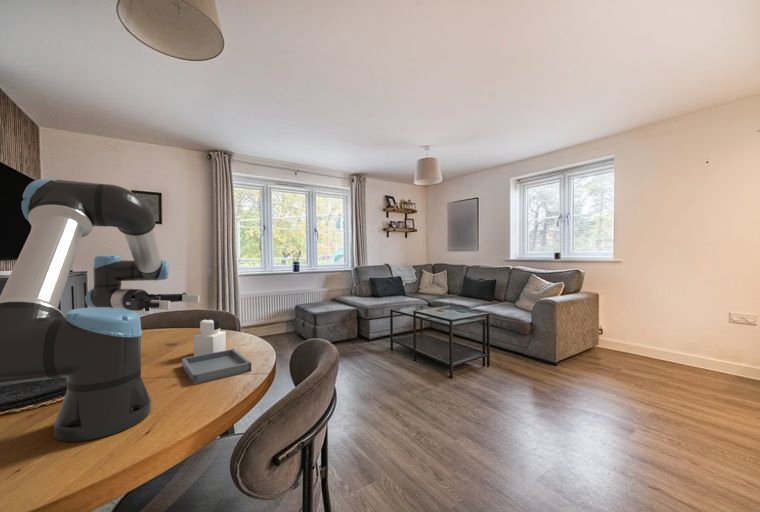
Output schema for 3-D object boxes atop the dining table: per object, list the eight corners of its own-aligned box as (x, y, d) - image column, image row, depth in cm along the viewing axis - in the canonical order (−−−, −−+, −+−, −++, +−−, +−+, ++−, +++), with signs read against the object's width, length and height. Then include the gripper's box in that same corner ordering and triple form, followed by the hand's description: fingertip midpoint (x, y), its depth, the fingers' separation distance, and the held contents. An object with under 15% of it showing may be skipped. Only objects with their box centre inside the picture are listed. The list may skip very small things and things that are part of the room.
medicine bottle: (207, 350, 112) (207, 316, 112) (226, 351, 111) (226, 317, 111) (193, 356, 105) (193, 321, 105) (212, 358, 104) (212, 322, 104)
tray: (251, 371, 93) (251, 362, 93) (193, 384, 83) (193, 375, 83) (233, 356, 106) (233, 348, 106) (181, 366, 96) (181, 358, 96)
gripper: (160, 304, 125) (209, 306, 122) (95, 317, 100) (154, 320, 97) (160, 285, 124) (209, 286, 121) (95, 294, 100) (154, 296, 97)
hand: (185, 301), depth 109 cm, fingers open, 13 cm apart
